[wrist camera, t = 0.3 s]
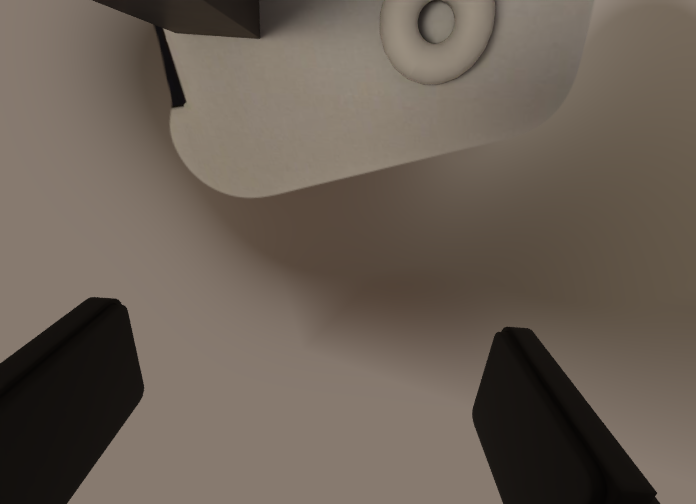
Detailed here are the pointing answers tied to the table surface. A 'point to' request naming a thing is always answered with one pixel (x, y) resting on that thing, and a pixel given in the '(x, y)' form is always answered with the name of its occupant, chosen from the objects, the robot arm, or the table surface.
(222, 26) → the stand
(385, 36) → the donut
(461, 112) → the table surface
